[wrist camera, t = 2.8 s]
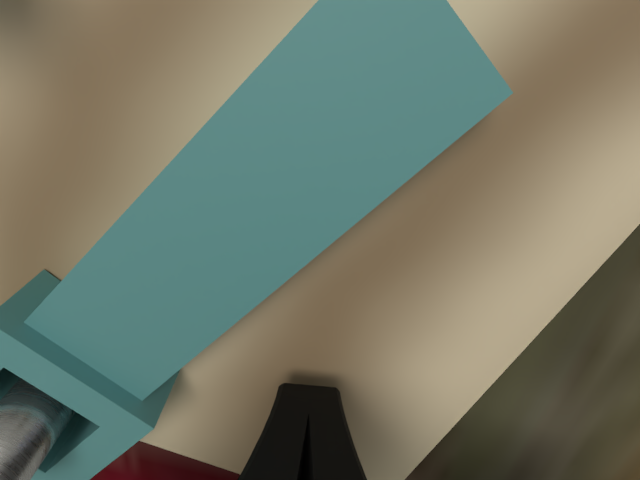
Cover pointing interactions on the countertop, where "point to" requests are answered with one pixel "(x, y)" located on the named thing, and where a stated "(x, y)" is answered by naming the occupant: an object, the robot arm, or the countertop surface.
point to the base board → (361, 239)
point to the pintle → (28, 429)
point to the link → (243, 213)
